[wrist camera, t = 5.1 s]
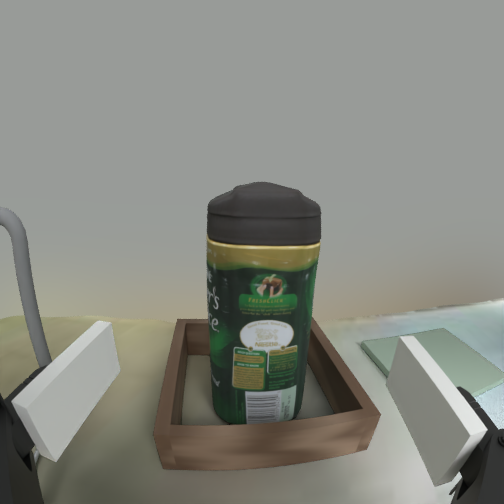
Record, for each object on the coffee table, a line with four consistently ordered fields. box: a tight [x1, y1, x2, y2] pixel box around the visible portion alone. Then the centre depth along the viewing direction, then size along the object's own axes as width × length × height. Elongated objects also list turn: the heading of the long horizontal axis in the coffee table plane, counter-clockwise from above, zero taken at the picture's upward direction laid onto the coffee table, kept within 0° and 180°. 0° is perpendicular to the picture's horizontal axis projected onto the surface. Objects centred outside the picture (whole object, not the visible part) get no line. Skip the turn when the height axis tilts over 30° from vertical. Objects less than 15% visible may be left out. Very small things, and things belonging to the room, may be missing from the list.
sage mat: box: [361, 328, 504, 397], centre depth 28 cm, size 14×14×1 cm
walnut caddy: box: [153, 317, 381, 470], centre depth 25 cm, size 15×17×4 cm
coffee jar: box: [207, 182, 321, 425], centre depth 23 cm, size 10×8×19 cm
